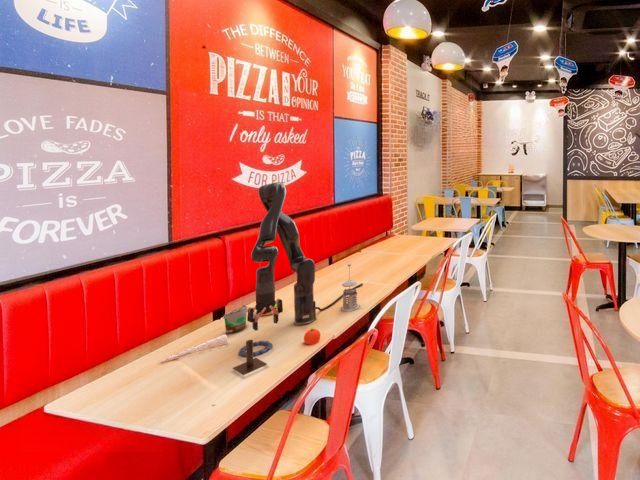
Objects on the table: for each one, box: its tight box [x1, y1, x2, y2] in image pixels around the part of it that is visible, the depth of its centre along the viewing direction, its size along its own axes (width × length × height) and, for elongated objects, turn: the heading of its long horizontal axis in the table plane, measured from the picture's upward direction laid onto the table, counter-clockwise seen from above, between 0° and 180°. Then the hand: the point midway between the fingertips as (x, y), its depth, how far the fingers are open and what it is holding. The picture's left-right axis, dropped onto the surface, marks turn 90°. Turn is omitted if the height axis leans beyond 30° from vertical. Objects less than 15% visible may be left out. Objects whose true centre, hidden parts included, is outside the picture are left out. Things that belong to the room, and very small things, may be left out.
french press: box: [340, 263, 360, 312], centre depth 215 cm, size 10×12×25 cm
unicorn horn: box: [159, 334, 228, 363], centre depth 168 cm, size 5×24×5 cm, turn 127°
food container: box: [222, 304, 249, 335], centre depth 191 cm, size 12×6×10 cm, turn 168°
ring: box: [238, 340, 273, 359], centre depth 168 cm, size 13×13×3 cm
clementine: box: [303, 327, 321, 345], centre depth 175 cm, size 8×7×7 cm
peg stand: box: [232, 339, 268, 376], centre depth 154 cm, size 9×9×12 cm
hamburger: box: [254, 296, 278, 316], centre depth 212 cm, size 12×12×9 cm
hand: (265, 326), depth 172 cm, fingers open, 8 cm apart
